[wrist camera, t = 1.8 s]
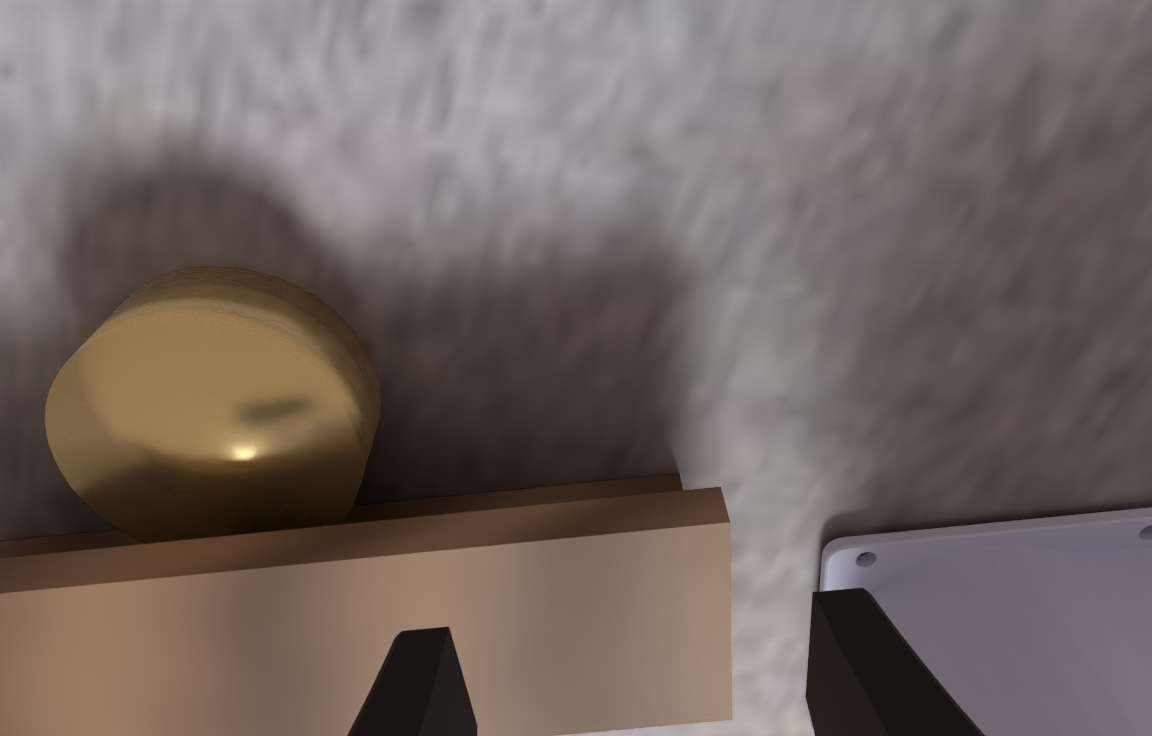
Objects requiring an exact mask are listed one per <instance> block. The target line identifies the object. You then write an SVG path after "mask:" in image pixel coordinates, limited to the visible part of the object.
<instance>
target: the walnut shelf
mask: <svg viewBox="0 0 1152 736" xmlns="http://www.w3.org/2000/svg"><path fill="white" fill-rule="evenodd" d="M438 627H449V628H450V631H451V635H452V638H453V642H454V645H455V649H456V652H457V656H458V659H459V663H460V666H461V670H462V673H463V677H464V680H465V684H466V687H467V691H468V694H469V698H470V701H471V705H472V708H473V712H474V715H475V719H476V722H477V726H478V727H477V736H554V735H565V734H577V733H588V732H599V731H610V730H622V729H633V728H644V727H655V726H667V725H678V724H689V723H701V722H712V721H723V720H732V662H731V567H730V520H729V517H728V513H727V509H726V505H725V501H724V498H723V494H722V490H721V487H714V488H704V489H694V490H684V491H683V489H682V484H681V479H680V474H679V473H678V474H668V475H658V476H648V477H638V478H628V479H618V480H608V481H598V482H588V483H578V484H568V485H558V486H548V487H538V488H528V489H518V490H508V491H498V492H488V493H478V494H468V495H458V496H448V497H438V498H428V499H418V500H408V501H398V502H389V503H379V504H369V505H359V506H352V508H351V510H350V512H349V514H348V515H347V516H346V518H345V519H344V520H343V522H342V523H341V524H340V525H332V526H322V527H312V528H302V529H291V530H281V531H271V532H261V533H251V534H241V535H231V536H221V537H211V538H201V539H191V540H181V541H171V542H161V543H151V544H144V543H142V542H140V541H138V540H137V539H135V538H133V537H131V536H129V535H127V534H125V533H124V532H122V531H120V530H109V531H99V532H89V533H79V534H69V535H59V536H49V537H39V538H29V539H19V540H9V541H0V736H347V735H348V733H349V731H350V729H351V727H352V725H353V723H354V721H355V719H356V717H357V716H358V714H359V712H360V710H361V708H362V706H363V704H364V702H365V700H366V698H367V696H368V694H369V692H370V690H371V688H372V686H373V683H374V681H375V679H376V677H377V675H378V673H379V671H380V669H381V667H382V665H383V662H384V660H385V658H386V656H387V654H388V652H389V649H390V647H391V645H392V643H393V640H394V638H395V637H396V636H397V635H398V634H399V633H400V632H401V631H406V630H417V629H428V628H438Z"/></svg>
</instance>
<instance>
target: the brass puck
mask: <svg viewBox="0 0 1152 736" xmlns="http://www.w3.org/2000/svg"><path fill="white" fill-rule="evenodd" d="M380 414H381V389H380V384H379V379H378V375H377V372H376V369H375V367H374V364H373V361H372V359H371V357H370V355H369V354H368V352H367V350H366V348H365V346H364V345H363V343H362V342H361V340H360V339H359V338H358V336H357V335H356V333H355V332H354V331H353V330H352V329H351V328H350V326H349V325H348V324H347V323H346V322H345V321H344V320H343V319H342V318H341V317H340V316H339V315H338V314H337V313H335V312H334V311H333V310H332V309H331V308H330V307H329V306H327V305H326V304H324V303H323V302H321V301H320V300H319V299H317V298H316V297H314V296H313V295H311V294H309V293H308V292H306V291H304V290H302V289H300V288H299V287H297V286H295V285H293V284H290V283H288V282H285V281H283V280H281V279H278V278H276V277H273V276H269V275H266V274H263V273H259V272H256V271H250V270H245V269H239V268H230V267H196V268H191V269H185V270H179V271H176V272H172V273H169V274H166V275H163V276H160V277H158V278H156V279H154V280H152V281H150V282H148V283H146V284H144V285H143V286H142V287H140V288H139V289H137V290H136V291H134V292H133V293H132V294H131V295H130V296H129V297H128V298H127V299H126V300H125V301H124V302H123V303H122V304H121V305H120V306H119V307H118V308H117V309H116V310H115V311H114V312H113V313H112V314H111V315H110V316H109V317H108V318H107V319H106V320H105V321H104V322H103V324H102V325H101V326H100V327H99V328H98V329H97V330H96V331H95V332H94V333H93V334H92V335H91V336H90V337H89V338H88V339H87V340H86V341H85V343H84V344H83V345H82V346H81V347H80V348H79V349H78V350H77V351H76V352H75V353H74V354H73V355H72V356H71V357H70V358H69V359H68V360H67V361H66V363H65V364H64V365H63V367H62V368H61V369H60V371H59V372H58V374H57V375H56V377H55V379H54V381H53V383H52V385H51V388H50V390H49V393H48V397H47V402H46V406H45V427H46V434H47V440H48V443H49V446H50V449H51V453H52V455H53V457H54V460H55V462H56V464H57V466H58V468H59V470H60V471H61V473H62V475H63V476H64V478H65V479H66V481H67V482H68V484H69V485H70V486H71V488H72V489H73V490H74V491H75V492H76V493H77V495H78V496H79V497H80V498H81V499H82V500H83V501H84V502H85V503H86V504H87V505H88V506H89V507H90V508H91V509H92V510H93V511H94V512H95V513H97V514H98V515H99V516H101V517H102V518H103V519H104V520H106V521H107V522H108V523H110V524H111V525H113V526H114V527H116V528H117V529H119V530H120V531H122V532H124V533H125V534H127V535H129V536H131V537H133V538H135V539H137V540H138V541H140V542H142V543H144V544H151V543H161V542H171V541H181V540H191V539H201V538H211V537H221V536H231V535H241V534H251V533H261V532H271V531H281V530H291V529H302V528H312V527H322V526H332V525H340V524H341V523H342V522H343V520H344V519H345V518H346V516H347V515H348V514H349V512H350V510H351V508H352V506H353V504H354V502H355V500H356V497H357V494H358V490H359V487H360V484H361V480H362V477H363V474H364V470H365V467H366V464H367V460H368V457H369V454H370V450H371V447H372V444H373V440H374V437H375V434H376V430H377V427H378V424H379V420H380Z"/></svg>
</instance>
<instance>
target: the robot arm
mask: <svg viewBox="0 0 1152 736" xmlns="http://www.w3.org/2000/svg"><path fill="white" fill-rule="evenodd" d="M865 552H868V553H867V554H865V555H861V556H859V555H860V554H862V553H865ZM806 699H807V703H808V708H809V712H810V722H811V726H812V729H813V733H814V734H815V736H1152V507H1151V508H1141V509H1130V510H1120V511H1110V512H1099V513H1089V514H1079V515H1068V516H1058V517H1047V518H1037V519H1027V520H1016V521H1006V522H996V523H985V524H975V525H965V526H954V527H944V528H934V529H923V530H913V531H903V532H892V533H882V534H871V535H861V536H851V537H842V538H837V539H835V540H833V541H831V542H829V543H828V544H827V545H826V546H825V547H824V550H823V552H822V563H821V576H820V590H819V592H813V597H812V612H811V627H810V642H809V657H808V672H807V687H806ZM477 727H478V726H477V722H476V719H475V715H474V712H473V708H472V705H471V701H470V698H469V694H468V691H467V687H466V684H465V680H464V677H463V673H462V670H461V666H460V663H459V659H458V656H457V652H456V649H455V645H454V642H453V638H452V635H451V631H450V628H449V627H438V628H428V629H417V630H406V631H401V632H400V633H399V634H398V635H397V636H396V637H395V638H394V640H393V643H392V645H391V647H390V649H389V652H388V654H387V656H386V658H385V660H384V662H383V665H382V667H381V669H380V671H379V673H378V675H377V677H376V679H375V681H374V683H373V686H372V688H371V690H370V692H369V694H368V696H367V698H366V700H365V702H364V704H363V706H362V708H361V710H360V712H359V714H358V716H357V717H356V719H355V721H354V723H353V725H352V727H351V729H350V731H349V733H348V735H347V736H477Z"/></svg>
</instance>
